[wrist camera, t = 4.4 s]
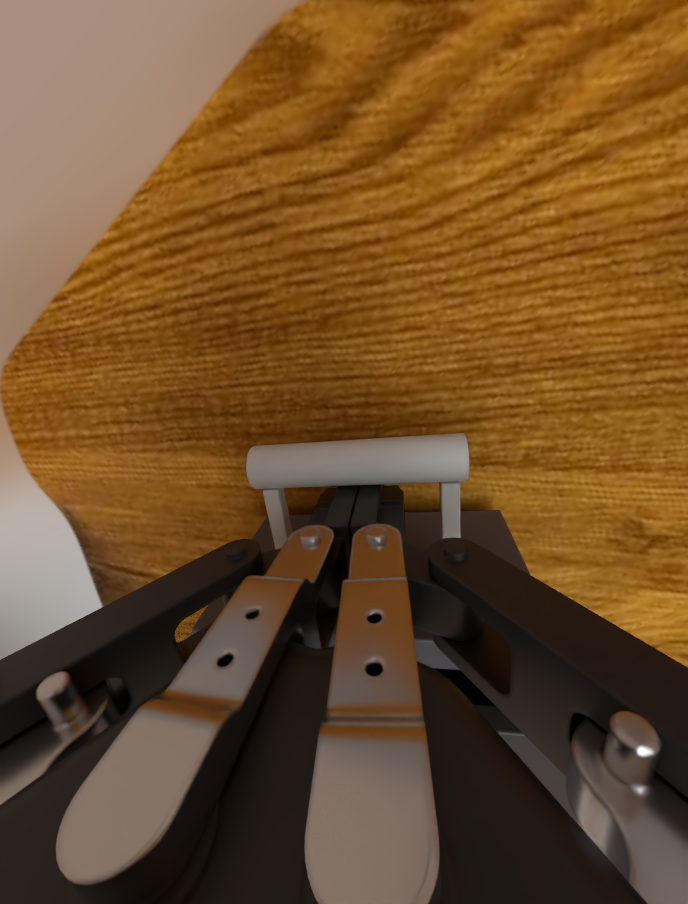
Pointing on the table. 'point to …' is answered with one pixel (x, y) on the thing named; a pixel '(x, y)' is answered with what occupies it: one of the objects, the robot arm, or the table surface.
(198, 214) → the table surface
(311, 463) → the dark grey drawer
